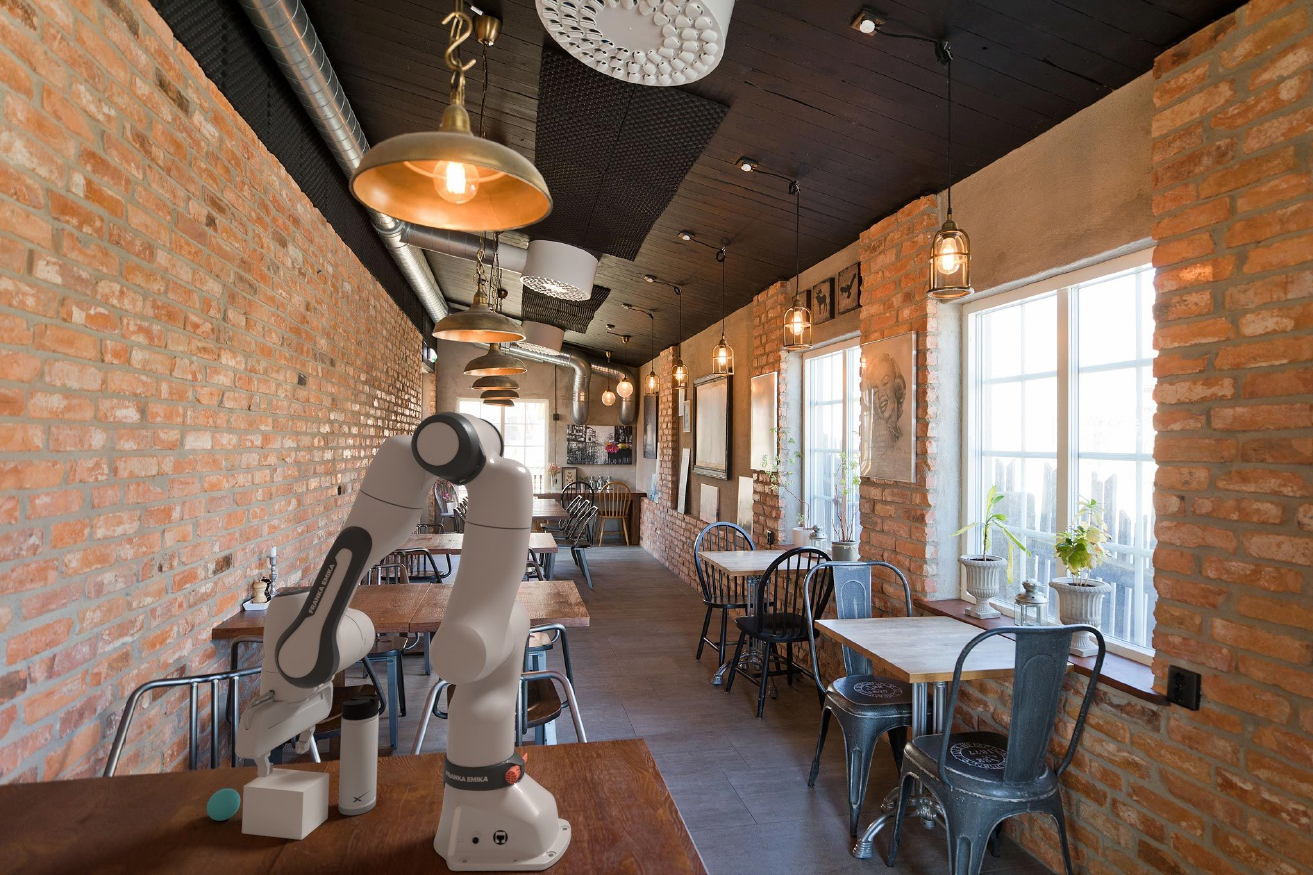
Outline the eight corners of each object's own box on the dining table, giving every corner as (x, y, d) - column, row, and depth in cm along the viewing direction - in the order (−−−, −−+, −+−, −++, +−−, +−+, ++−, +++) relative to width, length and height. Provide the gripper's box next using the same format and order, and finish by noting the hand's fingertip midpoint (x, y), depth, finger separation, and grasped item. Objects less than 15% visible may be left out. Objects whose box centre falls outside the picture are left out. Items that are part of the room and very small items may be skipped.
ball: (246, 813, 123) (247, 784, 123) (225, 827, 118) (226, 797, 118) (221, 810, 124) (222, 782, 124) (198, 824, 119) (200, 795, 119)
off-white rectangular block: (327, 818, 122) (329, 773, 122) (301, 839, 115) (303, 791, 115) (270, 812, 123) (272, 767, 124) (241, 833, 116) (243, 785, 117)
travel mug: (363, 818, 122) (367, 703, 123) (330, 813, 123) (334, 700, 124) (384, 801, 128) (388, 692, 129) (352, 797, 129) (356, 688, 130)
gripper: (263, 704, 109) (257, 793, 109) (340, 667, 129) (336, 741, 129) (227, 700, 110) (221, 788, 110) (310, 663, 130) (305, 738, 130)
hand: (284, 763), depth 120 cm, fingers open, 8 cm apart
